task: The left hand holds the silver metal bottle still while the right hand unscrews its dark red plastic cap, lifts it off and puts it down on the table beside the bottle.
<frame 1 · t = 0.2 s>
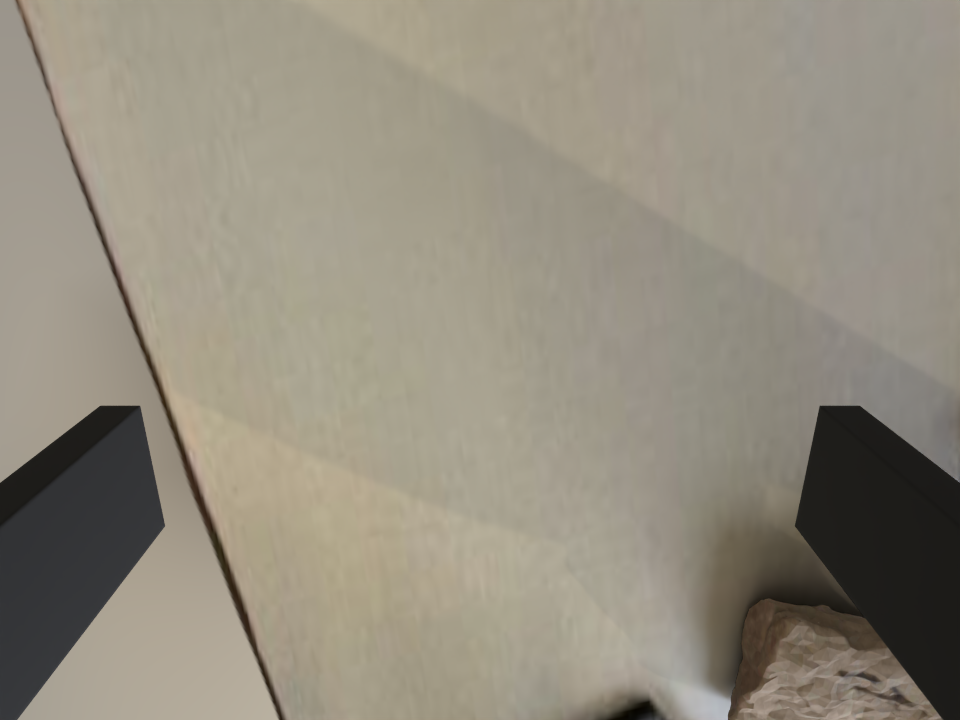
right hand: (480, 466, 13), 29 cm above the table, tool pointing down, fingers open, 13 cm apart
stone: (859, 651, 51), on the table
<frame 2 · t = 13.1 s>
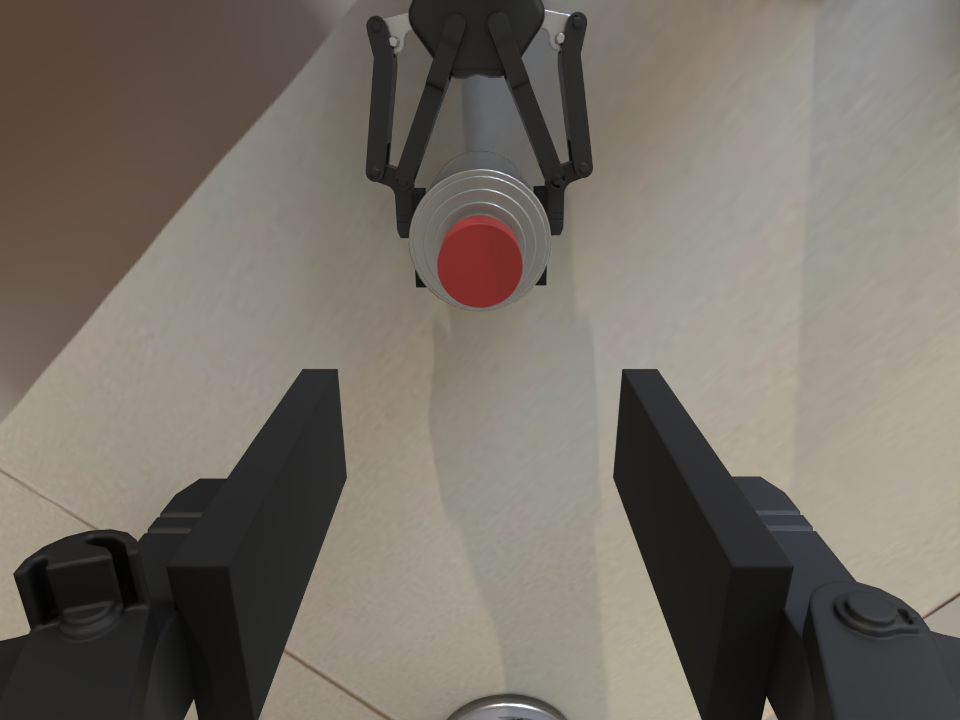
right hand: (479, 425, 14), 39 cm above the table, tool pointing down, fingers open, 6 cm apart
left hand: (481, 281, 47), fingers closed on bottle, 8 cm apart
bottle: (480, 201, 51), on the table, touching left hand
cap: (479, 265, 30), point 23 cm above the table, screwed on, not yet turned
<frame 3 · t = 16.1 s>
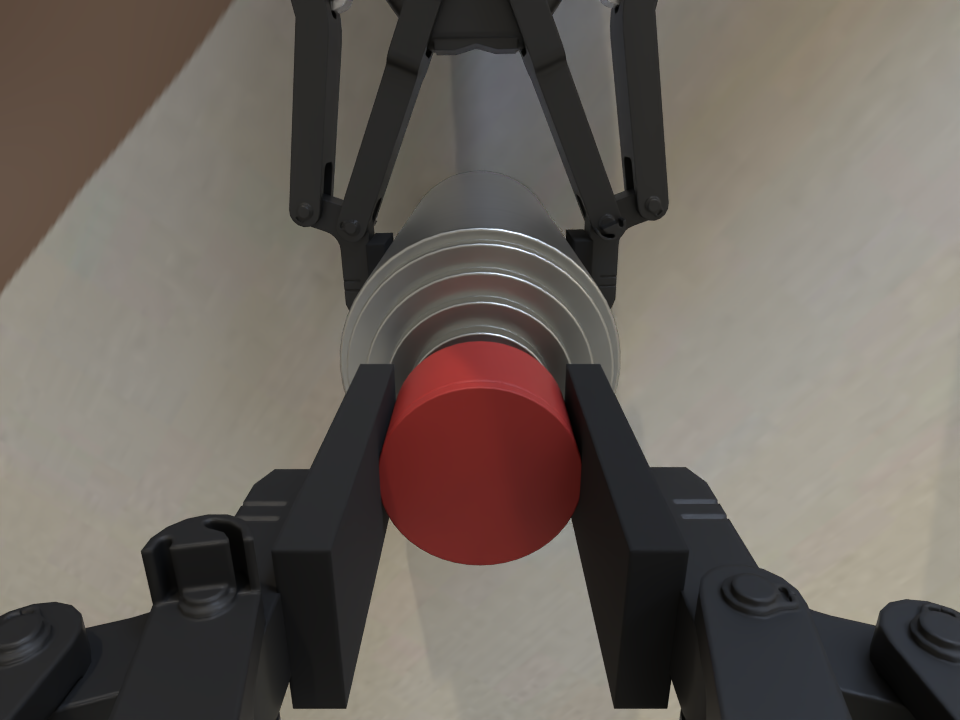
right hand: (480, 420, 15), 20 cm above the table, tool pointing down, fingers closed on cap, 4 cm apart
bottle: (480, 246, 34), on the table, touching left hand
cap: (480, 473, 12), point 23 cm above the table, screwed on, not yet turned, touching right hand
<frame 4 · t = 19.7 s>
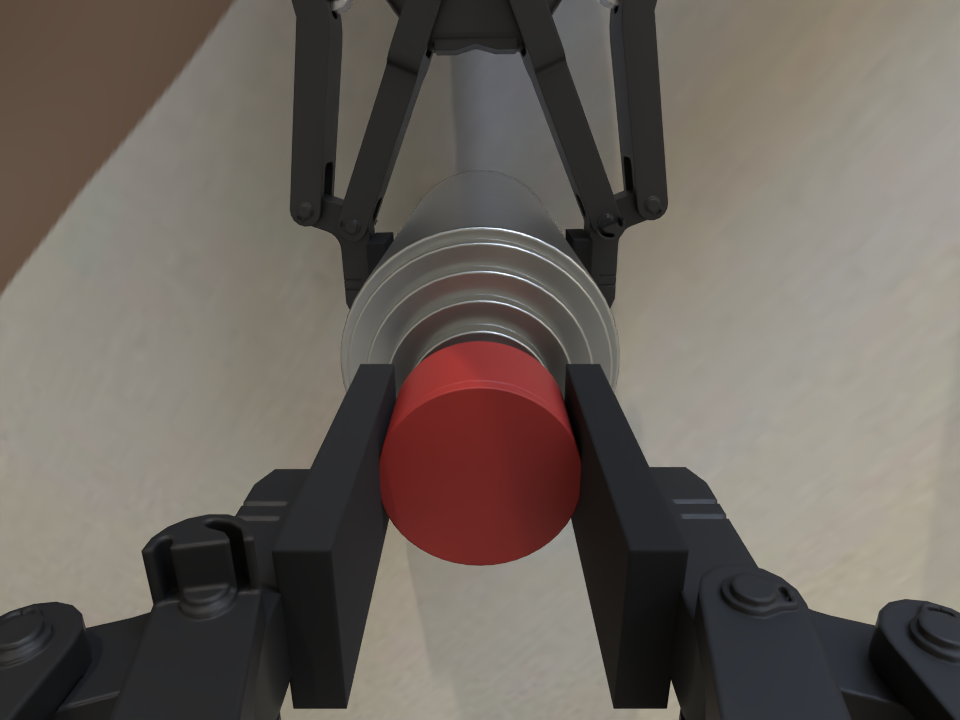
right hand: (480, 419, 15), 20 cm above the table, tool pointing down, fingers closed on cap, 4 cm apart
bottle: (480, 246, 34), on the table, touching left hand
cap: (480, 473, 12), point 23 cm above the table, turned 120° so far, risen 0.1 cm, still on its thread, touching right hand
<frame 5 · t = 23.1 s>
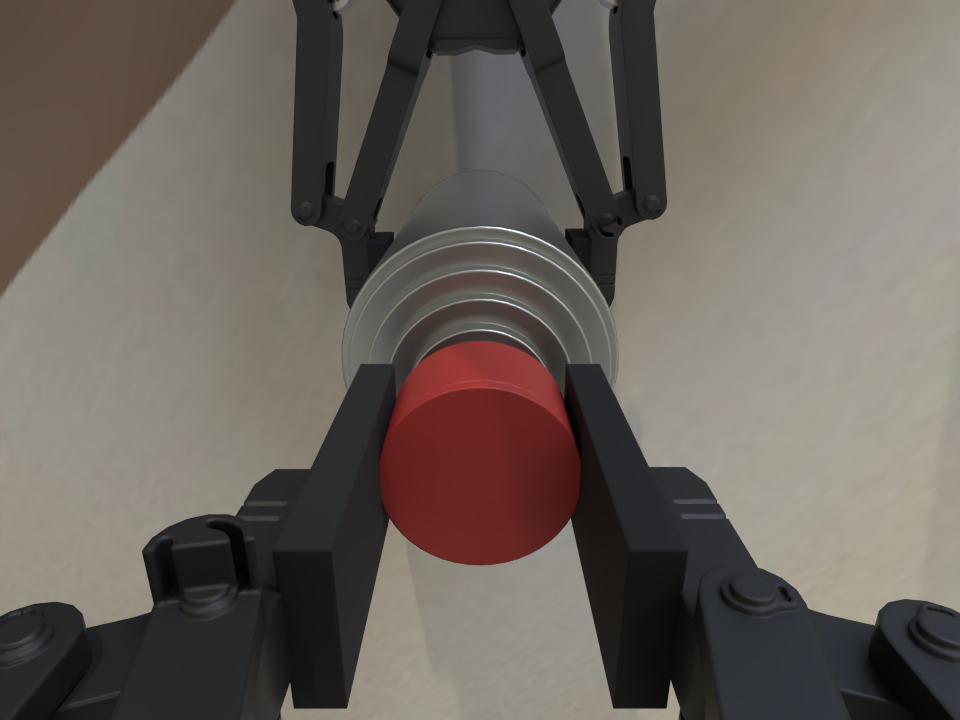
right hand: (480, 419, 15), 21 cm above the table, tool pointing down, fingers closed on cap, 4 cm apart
bottle: (480, 246, 34), on the table, touching left hand
cap: (480, 473, 12), point 23 cm above the table, turned 240° so far, risen 0.2 cm, still on its thread, touching right hand
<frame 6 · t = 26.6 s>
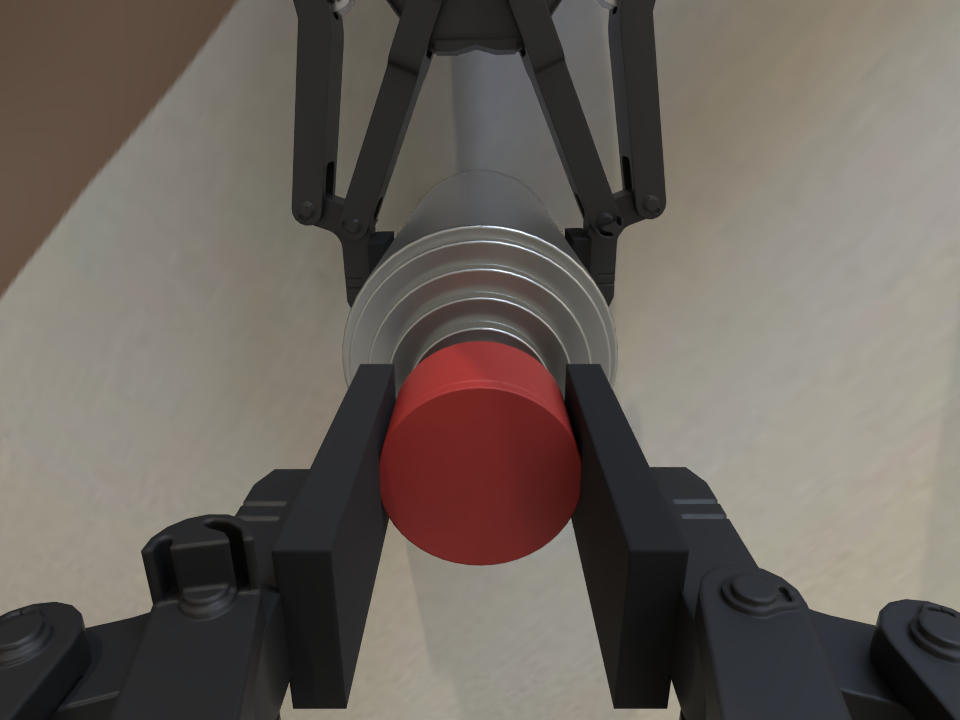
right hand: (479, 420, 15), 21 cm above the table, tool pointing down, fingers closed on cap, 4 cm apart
bottle: (480, 245, 34), on the table, touching left hand
cap: (480, 473, 12), point 23 cm above the table, turned 360° so far, risen 0.4 cm, still on its thread, touching right hand
when the right hand's fingers open (2 cm above the table, at t = 35.5 s): cap drops 2 cm, point 2 cm above the table.
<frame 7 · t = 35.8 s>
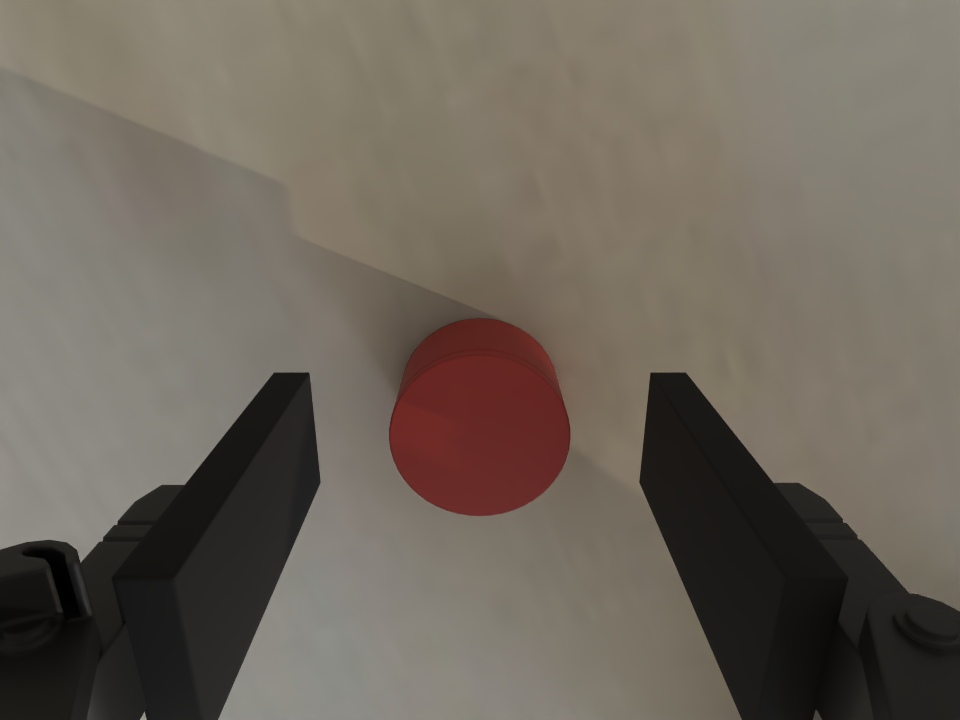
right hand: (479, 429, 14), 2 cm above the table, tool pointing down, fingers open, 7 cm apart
cap: (479, 433, 14), point 2 cm above the table, off its thread
when the left hand's fingers open (6 cm above the table, at t = 36.8 s): bottle stays where it is, on the table.
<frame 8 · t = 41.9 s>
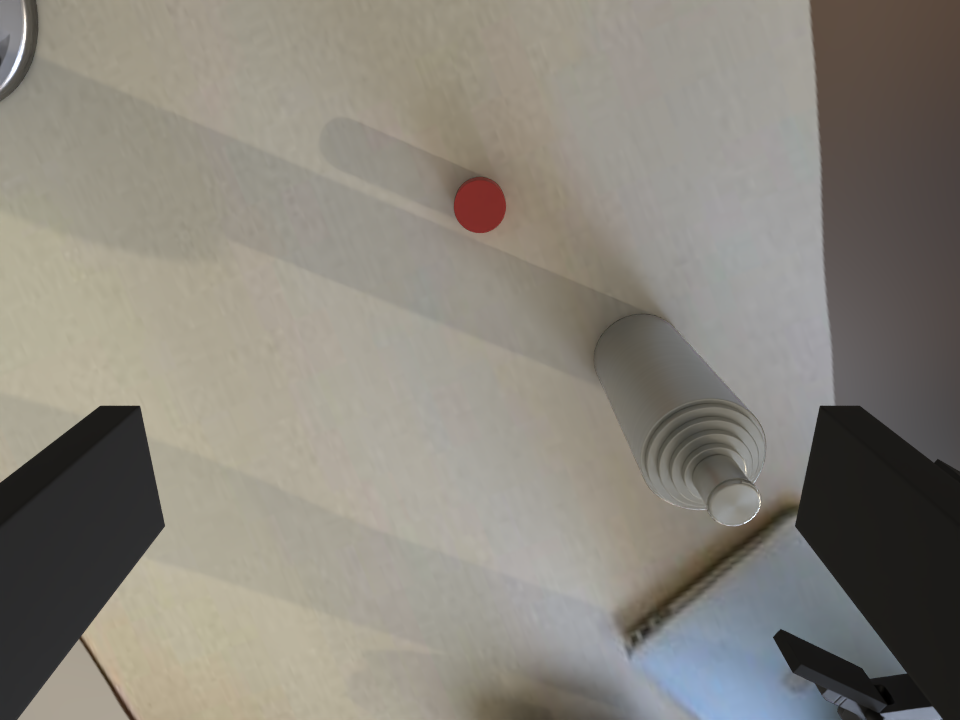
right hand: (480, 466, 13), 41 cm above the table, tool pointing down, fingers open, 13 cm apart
bottle: (638, 356, 55), on the table
cap: (479, 206, 49), point 2 cm above the table, off its thread
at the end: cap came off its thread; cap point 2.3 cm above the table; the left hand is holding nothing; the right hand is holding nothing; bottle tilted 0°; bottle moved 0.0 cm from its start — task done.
